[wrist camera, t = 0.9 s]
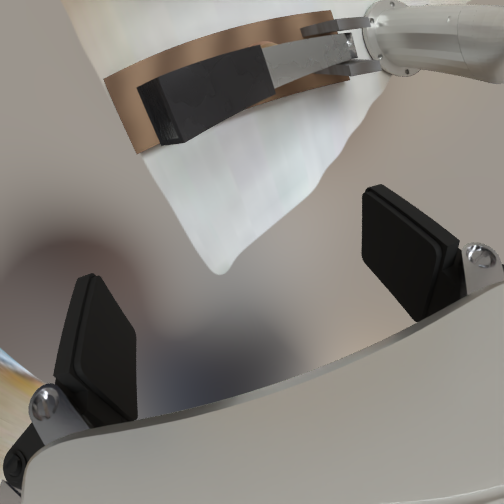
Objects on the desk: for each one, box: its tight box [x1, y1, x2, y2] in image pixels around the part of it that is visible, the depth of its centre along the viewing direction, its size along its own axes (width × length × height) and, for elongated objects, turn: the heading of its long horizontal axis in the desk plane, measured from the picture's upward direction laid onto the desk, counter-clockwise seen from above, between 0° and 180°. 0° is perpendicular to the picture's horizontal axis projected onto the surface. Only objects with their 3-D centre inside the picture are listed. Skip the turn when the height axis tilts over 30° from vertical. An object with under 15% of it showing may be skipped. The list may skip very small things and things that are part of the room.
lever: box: [136, 33, 358, 146], centre depth 20 cm, size 25×4×2 cm
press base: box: [104, 10, 382, 154], centre depth 26 cm, size 28×10×10 cm, turn 108°
